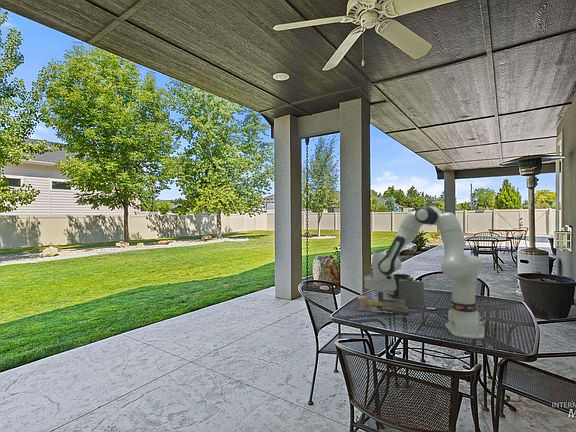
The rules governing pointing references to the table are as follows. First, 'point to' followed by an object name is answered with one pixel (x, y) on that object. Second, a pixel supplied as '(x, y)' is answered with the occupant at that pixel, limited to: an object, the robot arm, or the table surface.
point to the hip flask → (412, 293)
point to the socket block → (362, 301)
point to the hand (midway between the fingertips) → (380, 296)
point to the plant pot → (397, 278)
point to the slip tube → (375, 302)
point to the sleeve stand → (393, 306)
